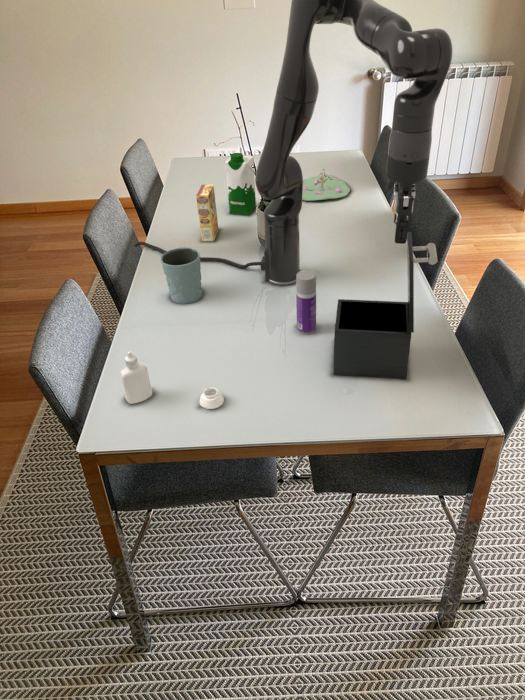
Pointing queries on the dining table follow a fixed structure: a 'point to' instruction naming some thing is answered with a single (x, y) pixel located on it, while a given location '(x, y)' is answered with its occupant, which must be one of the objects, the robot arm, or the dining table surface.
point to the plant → (324, 188)
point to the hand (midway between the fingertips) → (399, 232)
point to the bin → (372, 339)
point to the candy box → (207, 212)
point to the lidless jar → (211, 398)
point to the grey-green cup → (183, 274)
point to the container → (306, 302)
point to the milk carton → (240, 184)
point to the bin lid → (410, 272)
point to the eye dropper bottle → (135, 380)
